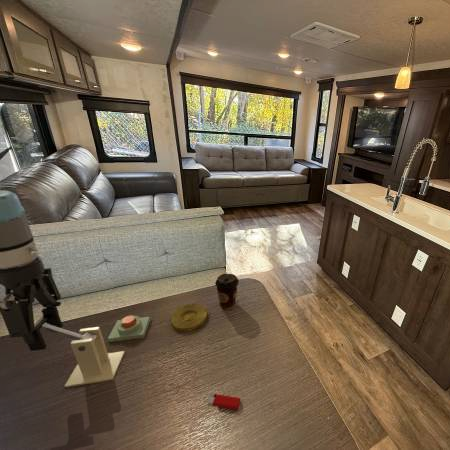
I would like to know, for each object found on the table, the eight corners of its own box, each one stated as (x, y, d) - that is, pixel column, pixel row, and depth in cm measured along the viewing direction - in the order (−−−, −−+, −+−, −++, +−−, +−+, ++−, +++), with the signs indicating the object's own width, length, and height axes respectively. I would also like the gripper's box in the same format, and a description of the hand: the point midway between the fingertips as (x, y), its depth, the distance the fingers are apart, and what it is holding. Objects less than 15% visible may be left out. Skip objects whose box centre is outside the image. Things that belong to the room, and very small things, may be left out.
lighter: (236, 408, 64) (207, 403, 64) (236, 411, 64) (207, 406, 65) (240, 397, 67) (211, 392, 67) (240, 400, 67) (212, 395, 68)
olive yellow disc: (171, 313, 93) (171, 308, 92) (205, 305, 98) (204, 301, 97) (171, 337, 83) (170, 332, 83) (208, 327, 88) (208, 323, 88)
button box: (108, 343, 79) (106, 334, 78) (118, 324, 86) (116, 316, 85) (144, 339, 82) (142, 330, 80) (150, 321, 89) (149, 312, 87)
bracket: (65, 389, 66) (49, 352, 60) (83, 359, 74) (70, 324, 68) (113, 381, 69) (101, 345, 63) (125, 353, 77) (116, 319, 71)
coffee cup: (225, 315, 95) (224, 287, 90) (212, 305, 99) (210, 278, 94) (242, 303, 101) (242, 277, 96) (229, 294, 106) (229, 269, 100)
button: (120, 328, 81) (119, 324, 80) (125, 320, 84) (123, 315, 83) (133, 327, 81) (132, 322, 81) (137, 319, 85) (136, 314, 84)
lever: (24, 336, 59) (29, 329, 58) (41, 318, 64) (46, 311, 64) (84, 353, 65) (89, 347, 64) (95, 335, 70) (100, 330, 69)
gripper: (2, 286, 47) (40, 369, 56) (62, 240, 64) (84, 310, 73) (-51, 289, 45) (-2, 375, 54) (26, 241, 62) (53, 312, 71)
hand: (47, 337), depth 63 cm, fingers closed on lever, 6 cm apart
